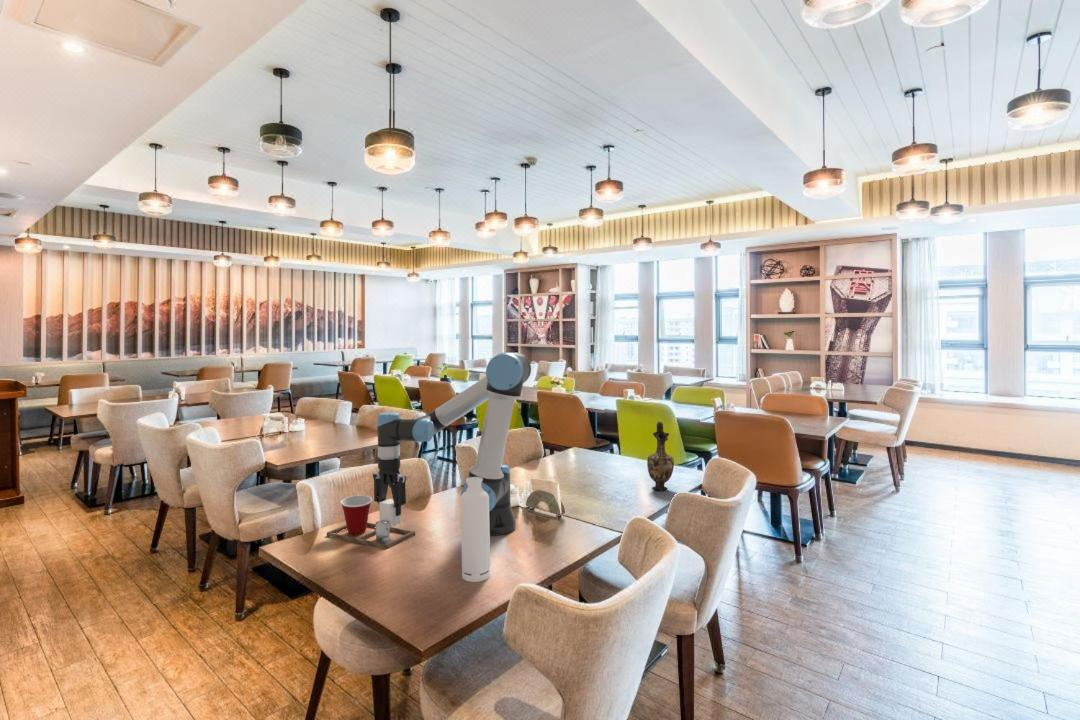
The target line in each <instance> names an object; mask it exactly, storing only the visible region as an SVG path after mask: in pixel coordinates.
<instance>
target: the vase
mask: <svg viewBox="0 0 1080 720" xmlns="http://www.w3.org/2000/svg"><path fill="white" fill-rule="evenodd" d="M652 435H653V436H654V438H656V450H655V452H654V453H651V454H650V455H648V457H647V463H646V464H647V465H646V466H647V472H648V475H649V477H650V479H651V480H652V481H653V482H654V484H655V485H654V486H652V487H651V489H652V490H653V489H654V490H653V491H655V490H659V491H658V492H666V491H665V490H667V489H668V487H667V486H665V484H666V483H667V482H669V480H670V479H671V478H672V475H673V472H674V468H675V467H674V466H675V461H674V457H673V456H671V455H670V454H668V453H667V452H666V442H667V441H668V440H669V438H668V437H669V436H670V434H669V432H664V424H663V422H662V421H657V422H656V431H655V432H654V431H653V432H652ZM668 490H669V489H668ZM668 490H667V491H668Z"/></svg>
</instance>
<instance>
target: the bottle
mask: <svg viewBox="0 0 1080 720" xmlns="http://www.w3.org/2000/svg"><path fill="white" fill-rule="evenodd" d="M482 481H483V478H481V477H470V478H468V477H466V479H465V482H466V484H467V485H468V487H467V489H466V491H465V492H464V493H463V494H462V495H461V494H460V532H461V533H460V534H461V535H460V537H461V545H460V546H461V569H462V570H461V578H462V579H463V580H464V581H465V582H466V581H467V582H470V583H479V582H482V581H486V580H488V579H489V578H490V577H491V541H490V539H491V538H490V537H491V535H490V527H489V496H488V494H487V492H485V491H483V488H482V486H481V482H482Z"/></svg>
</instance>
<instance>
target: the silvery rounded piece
mask: <svg viewBox="0 0 1080 720" xmlns="http://www.w3.org/2000/svg"><path fill="white" fill-rule="evenodd" d="M375 524H376V528H375V530H376V535H375V542H377V543H382V544H387V543H389V542H391V540H390V538H391V536H390V535H391V531H390V525H389V521H388V520H381V521H380V520H378V521H375Z"/></svg>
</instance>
